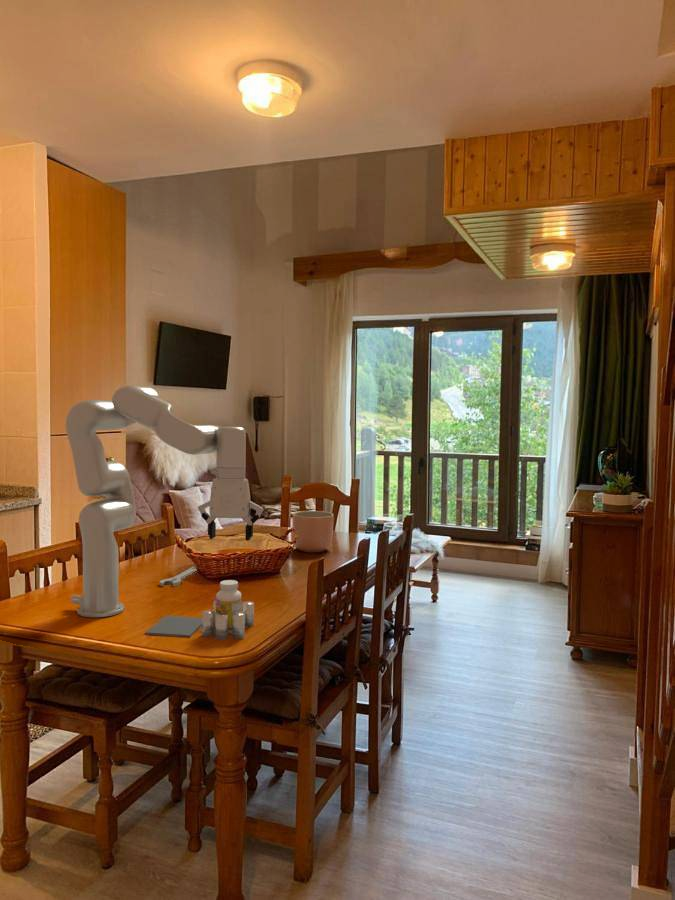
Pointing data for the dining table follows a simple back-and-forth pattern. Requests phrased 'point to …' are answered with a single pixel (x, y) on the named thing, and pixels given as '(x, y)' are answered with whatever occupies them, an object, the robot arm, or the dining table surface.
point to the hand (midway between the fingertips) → (230, 538)
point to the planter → (313, 530)
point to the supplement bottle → (228, 600)
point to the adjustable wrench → (178, 577)
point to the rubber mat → (176, 626)
